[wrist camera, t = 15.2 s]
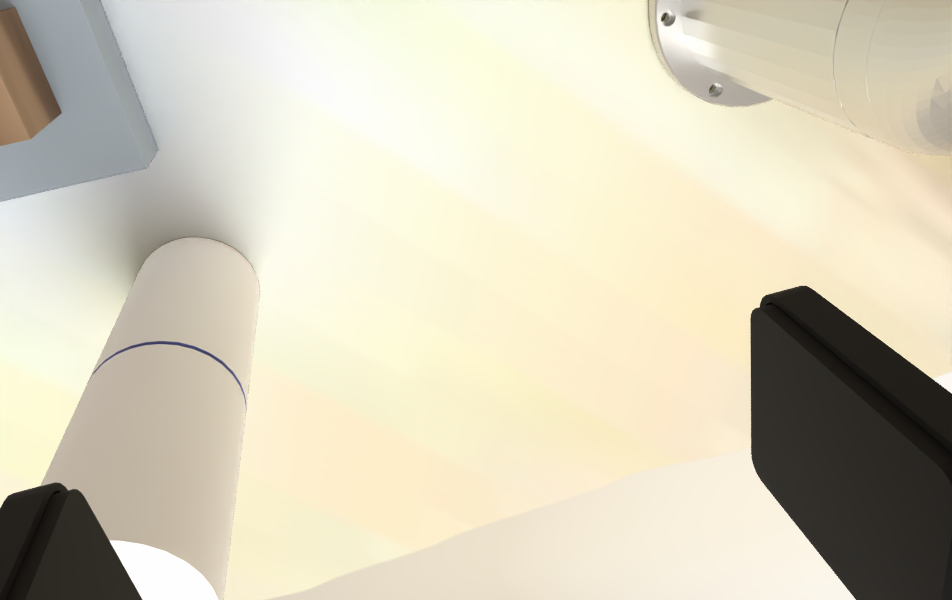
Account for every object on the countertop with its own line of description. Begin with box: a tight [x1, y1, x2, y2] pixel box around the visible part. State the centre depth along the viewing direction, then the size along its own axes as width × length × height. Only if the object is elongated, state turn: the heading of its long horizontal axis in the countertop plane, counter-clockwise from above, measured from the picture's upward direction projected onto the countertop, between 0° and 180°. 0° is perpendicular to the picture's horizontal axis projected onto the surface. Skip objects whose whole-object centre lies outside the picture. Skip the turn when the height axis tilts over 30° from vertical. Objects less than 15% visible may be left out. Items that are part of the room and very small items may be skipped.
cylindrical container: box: [41, 237, 260, 600], centre depth 36 cm, size 7×7×25 cm
